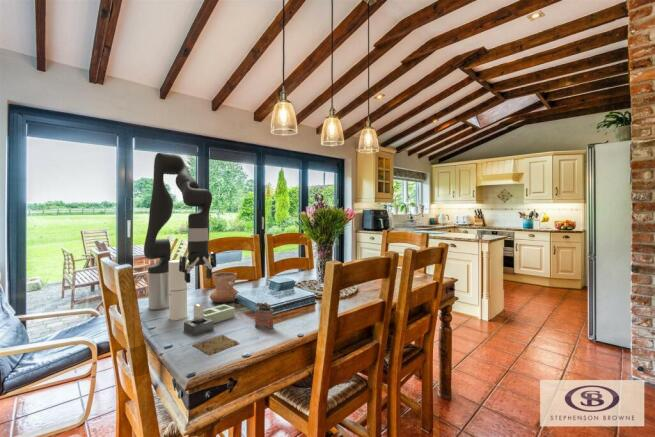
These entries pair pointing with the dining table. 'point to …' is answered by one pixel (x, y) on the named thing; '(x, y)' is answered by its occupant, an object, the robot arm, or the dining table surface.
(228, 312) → the rack
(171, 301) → the cylindrical container
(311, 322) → the dining table surface
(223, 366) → the dining table surface
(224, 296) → the ceramic jug
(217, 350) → the tan flat square slab
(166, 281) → the robot arm
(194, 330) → the block
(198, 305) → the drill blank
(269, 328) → the lighter
